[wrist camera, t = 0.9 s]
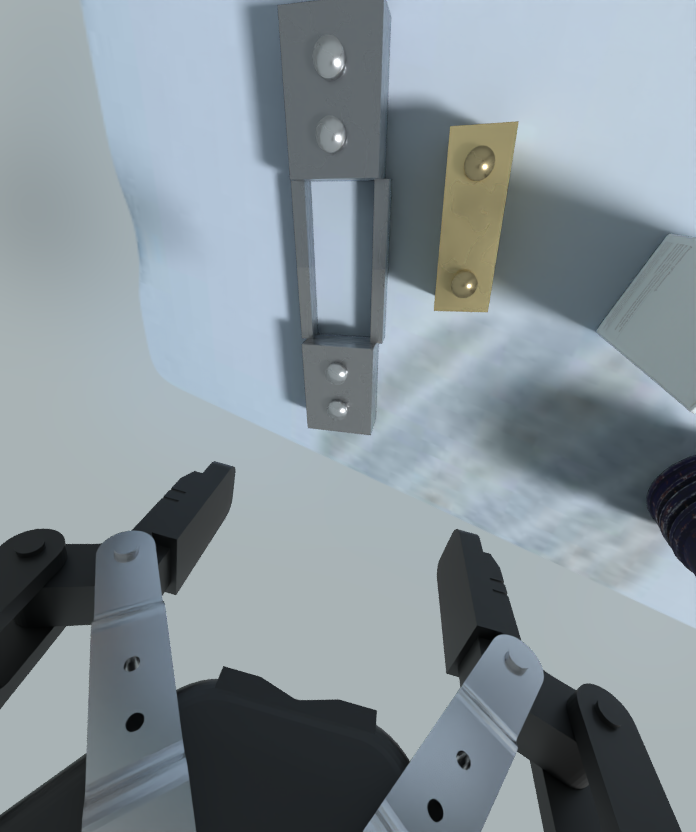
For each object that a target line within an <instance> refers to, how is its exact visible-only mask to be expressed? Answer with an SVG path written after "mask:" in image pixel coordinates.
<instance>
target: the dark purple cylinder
mask: <svg viewBox="0 0 696 832" xmlns="http://www.w3.org/2000/svg"><path fill="white" fill-rule="evenodd" d="M647 508H648V510H649V512H650V514H651V516H652V517H653V519H654V520H655V521H656V522H657V524H658V526H659V528H660V531H661V533H662V535H663V537H664V538H665V540H666V541H667V543H668V544H669V546H670V547H671V548H672V550H673V552H674V554H675V556H676V557H677V558H678V560H679V561H681V562H682V563H683V565H684V566H685V567H686V568H687V569H689V570H690V571H691V572H693V573H694V574H695V576H696V455H694V456H691V457H689V458H686V459H684V460H681V461H679V462H678V463H676V464H674V465H672V466H671V467H669V468H668V469H666V470H665V471H663V472H662V473H661V474H660V475H659V476H658V477H657V478H656V479H655V481H654V482H653V483H652V485H651V487H650V489H649V491H648V494H647Z"/></svg>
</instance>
